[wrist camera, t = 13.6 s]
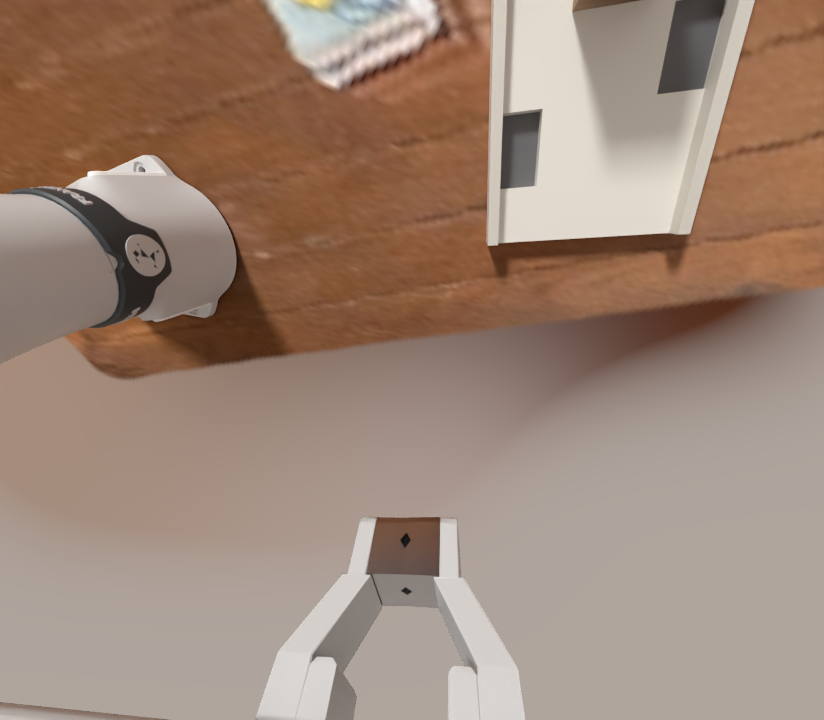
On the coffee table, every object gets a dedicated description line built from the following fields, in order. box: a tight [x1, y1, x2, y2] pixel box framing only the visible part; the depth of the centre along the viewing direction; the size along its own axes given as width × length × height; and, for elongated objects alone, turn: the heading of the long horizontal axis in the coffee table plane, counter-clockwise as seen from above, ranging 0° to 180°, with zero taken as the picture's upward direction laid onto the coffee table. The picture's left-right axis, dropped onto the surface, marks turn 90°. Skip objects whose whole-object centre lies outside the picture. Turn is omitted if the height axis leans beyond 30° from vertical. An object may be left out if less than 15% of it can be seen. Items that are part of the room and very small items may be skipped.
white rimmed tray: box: [486, 0, 755, 246], centre depth 27 cm, size 18×24×4 cm
